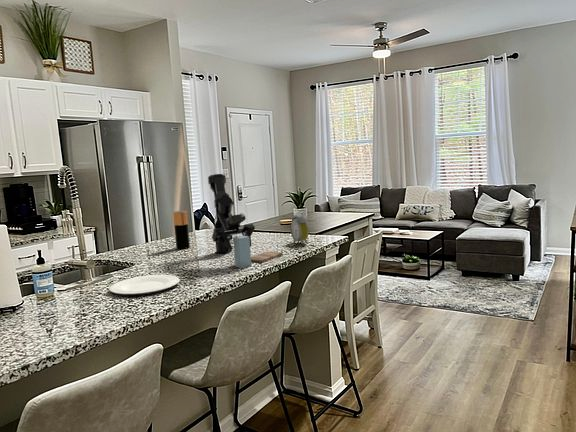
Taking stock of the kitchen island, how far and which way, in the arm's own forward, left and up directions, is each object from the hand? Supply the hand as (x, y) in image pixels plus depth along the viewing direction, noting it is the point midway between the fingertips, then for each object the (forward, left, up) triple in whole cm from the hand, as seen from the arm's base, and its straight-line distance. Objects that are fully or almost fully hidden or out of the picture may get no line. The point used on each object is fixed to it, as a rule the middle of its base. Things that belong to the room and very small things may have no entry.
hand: (241, 247), depth 193 cm
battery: (-53, +31, -8) cm, 62 cm away
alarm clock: (+7, +51, -8) cm, 52 cm away
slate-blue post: (0, 0, -8) cm, 8 cm away
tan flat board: (+3, +15, -8) cm, 17 cm away
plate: (-21, -37, -8) cm, 43 cm away
